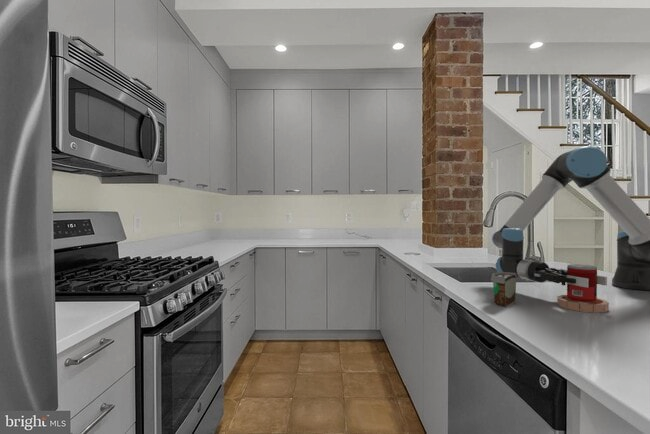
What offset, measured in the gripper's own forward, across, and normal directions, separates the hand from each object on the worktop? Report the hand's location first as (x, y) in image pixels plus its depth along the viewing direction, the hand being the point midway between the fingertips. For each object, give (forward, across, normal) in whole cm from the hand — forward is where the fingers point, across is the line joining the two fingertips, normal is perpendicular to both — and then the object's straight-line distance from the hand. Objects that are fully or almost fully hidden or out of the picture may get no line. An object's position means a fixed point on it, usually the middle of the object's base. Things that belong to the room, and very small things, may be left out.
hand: (597, 282), depth 113 cm
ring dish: (-5, 0, -9) cm, 10 cm away
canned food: (-5, 0, -7) cm, 8 cm away
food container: (-18, +20, -9) cm, 29 cm away
